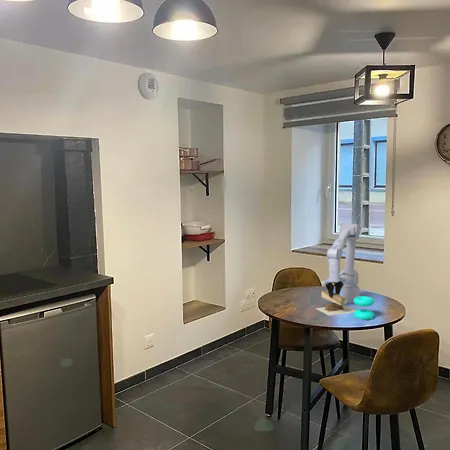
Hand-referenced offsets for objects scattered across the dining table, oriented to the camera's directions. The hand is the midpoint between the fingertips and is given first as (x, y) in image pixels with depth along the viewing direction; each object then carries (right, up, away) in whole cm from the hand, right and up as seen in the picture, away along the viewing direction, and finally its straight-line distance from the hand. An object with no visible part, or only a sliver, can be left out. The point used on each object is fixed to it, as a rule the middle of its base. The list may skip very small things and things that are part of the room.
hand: (334, 296), depth 244 cm
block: (0, -7, +1) cm, 7 cm away
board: (+1, -8, 0) cm, 8 cm away
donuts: (+12, -9, -12) cm, 19 cm away
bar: (0, -2, +1) cm, 2 cm away
